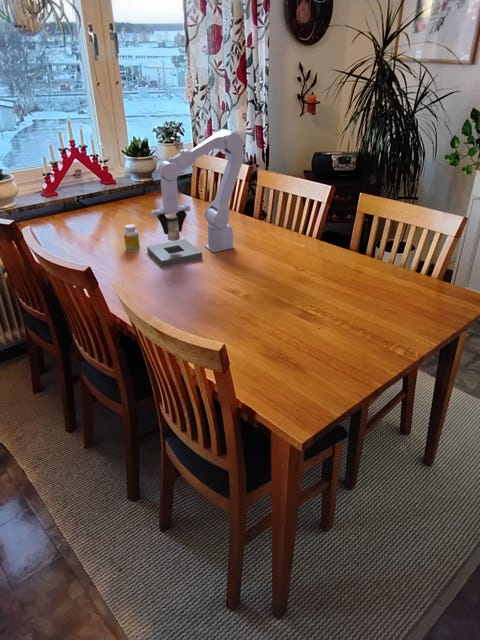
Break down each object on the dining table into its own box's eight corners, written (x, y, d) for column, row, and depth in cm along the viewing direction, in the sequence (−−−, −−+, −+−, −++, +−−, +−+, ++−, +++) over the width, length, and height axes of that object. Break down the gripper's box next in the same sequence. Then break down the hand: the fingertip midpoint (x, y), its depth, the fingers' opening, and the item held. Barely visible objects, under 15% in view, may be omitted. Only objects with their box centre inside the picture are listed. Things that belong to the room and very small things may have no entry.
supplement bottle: (136, 252, 187) (133, 228, 182) (123, 251, 188) (120, 227, 183) (141, 247, 191) (139, 224, 186) (129, 246, 192) (126, 223, 187)
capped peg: (177, 235, 183) (175, 215, 179) (183, 239, 179) (181, 218, 175) (164, 238, 181) (162, 217, 177) (170, 242, 177) (167, 220, 173)
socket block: (185, 244, 193) (185, 239, 192) (202, 258, 181) (201, 252, 180) (147, 252, 187) (146, 246, 185) (162, 267, 175) (161, 260, 173)
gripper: (154, 202, 166) (158, 239, 173) (192, 196, 172) (194, 232, 179) (147, 197, 171) (151, 233, 178) (185, 191, 178) (187, 226, 184)
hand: (172, 232), depth 179 cm, fingers closed on capped peg, 5 cm apart
